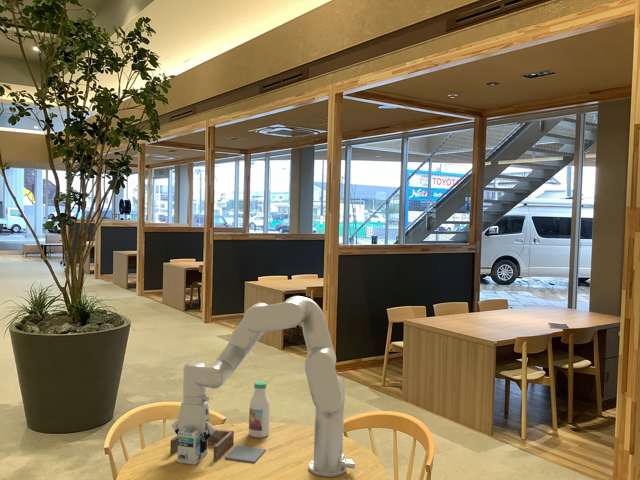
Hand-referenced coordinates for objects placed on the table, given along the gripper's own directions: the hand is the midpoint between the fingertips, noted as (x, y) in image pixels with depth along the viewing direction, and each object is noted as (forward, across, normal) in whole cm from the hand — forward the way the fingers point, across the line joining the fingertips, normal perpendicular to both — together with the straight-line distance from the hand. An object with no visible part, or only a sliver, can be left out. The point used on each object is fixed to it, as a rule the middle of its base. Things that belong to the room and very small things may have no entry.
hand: (192, 449), depth 201 cm
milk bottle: (+3, -14, -27) cm, 31 cm away
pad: (+3, -16, -8) cm, 18 cm away
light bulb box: (+3, 0, 0) cm, 3 cm away
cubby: (+3, 0, -8) cm, 8 cm away
